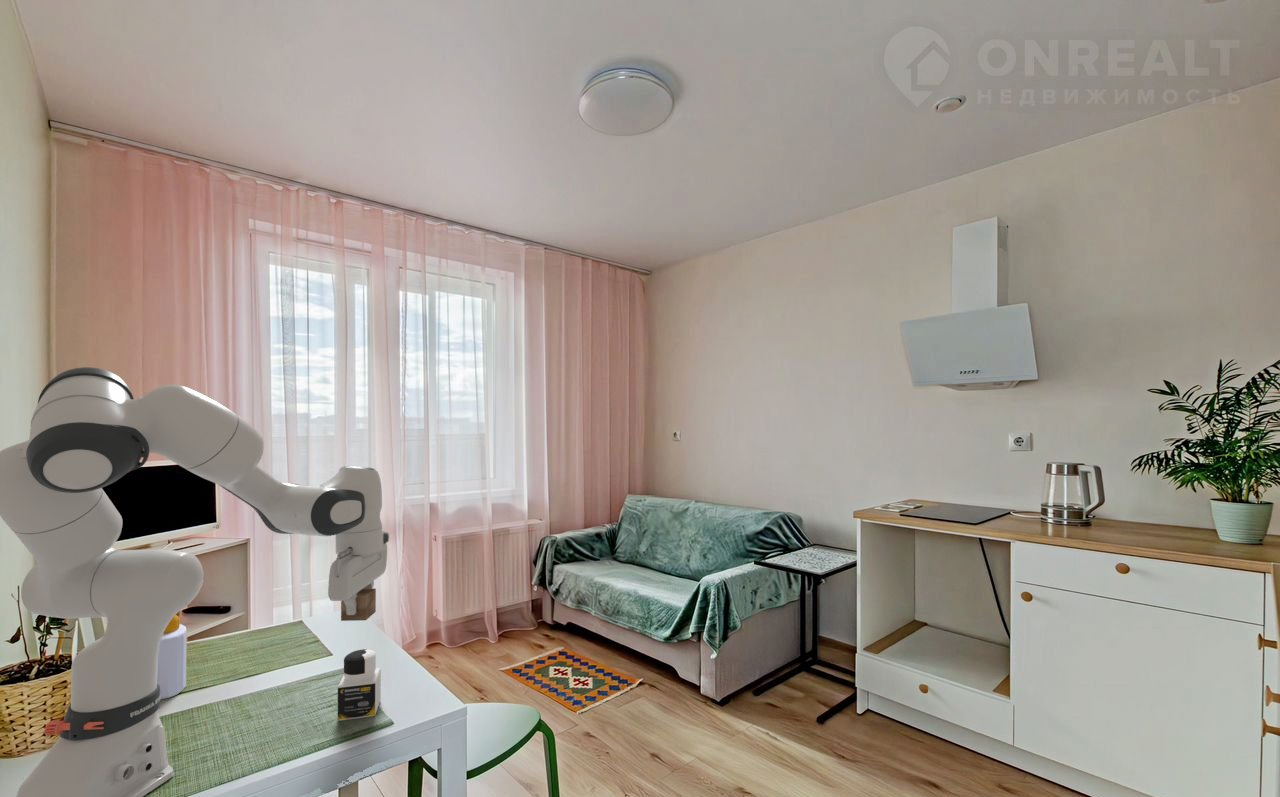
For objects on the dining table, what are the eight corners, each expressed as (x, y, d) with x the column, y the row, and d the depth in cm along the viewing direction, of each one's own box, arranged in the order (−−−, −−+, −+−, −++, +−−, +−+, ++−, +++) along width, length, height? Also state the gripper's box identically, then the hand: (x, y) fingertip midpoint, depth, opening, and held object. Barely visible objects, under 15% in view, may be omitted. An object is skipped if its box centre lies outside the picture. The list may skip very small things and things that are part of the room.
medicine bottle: (337, 721, 119) (337, 662, 119) (344, 704, 125) (345, 648, 126) (375, 716, 120) (375, 657, 121) (380, 700, 127) (381, 644, 128)
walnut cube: (365, 620, 121) (366, 596, 121) (341, 620, 120) (341, 596, 120) (375, 611, 126) (375, 588, 126) (351, 612, 125) (352, 588, 125)
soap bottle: (191, 692, 132) (192, 601, 132) (143, 705, 126) (144, 610, 126) (180, 674, 141) (181, 589, 141) (135, 686, 135) (136, 597, 135)
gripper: (352, 554, 113) (352, 626, 113) (392, 532, 133) (392, 593, 133) (319, 555, 113) (319, 627, 113) (364, 532, 133) (364, 593, 133)
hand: (359, 608), depth 123 cm, fingers closed on walnut cube, 5 cm apart
